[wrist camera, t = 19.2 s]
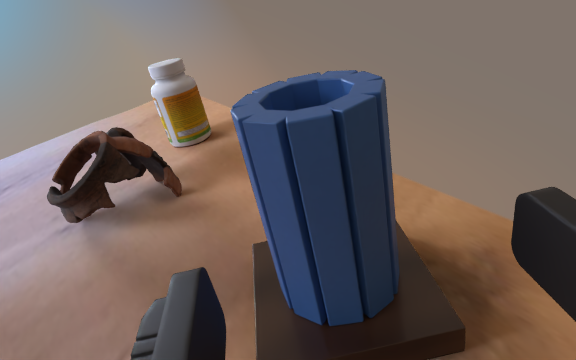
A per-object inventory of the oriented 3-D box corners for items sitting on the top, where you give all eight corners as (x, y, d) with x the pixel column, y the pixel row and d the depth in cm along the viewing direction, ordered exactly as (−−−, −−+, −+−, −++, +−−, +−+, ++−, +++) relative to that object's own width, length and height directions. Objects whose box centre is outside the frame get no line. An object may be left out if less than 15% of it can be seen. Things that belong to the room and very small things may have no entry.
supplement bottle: (220, 130, 48) (197, 54, 44) (192, 149, 44) (164, 67, 40) (190, 129, 51) (165, 58, 46) (162, 147, 47) (131, 70, 43)
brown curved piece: (195, 211, 32) (114, 160, 27) (118, 272, 34) (27, 236, 28) (178, 137, 41) (115, 87, 35) (117, 189, 43) (47, 148, 37)
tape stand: (465, 350, 16) (473, 158, 12) (264, 396, 16) (196, 222, 12) (392, 231, 24) (381, 88, 20) (257, 261, 24) (215, 126, 20)
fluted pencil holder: (367, 346, 16) (335, 127, 11) (259, 298, 19) (199, 118, 15) (417, 257, 20) (409, 67, 15) (319, 231, 23) (288, 72, 19)
